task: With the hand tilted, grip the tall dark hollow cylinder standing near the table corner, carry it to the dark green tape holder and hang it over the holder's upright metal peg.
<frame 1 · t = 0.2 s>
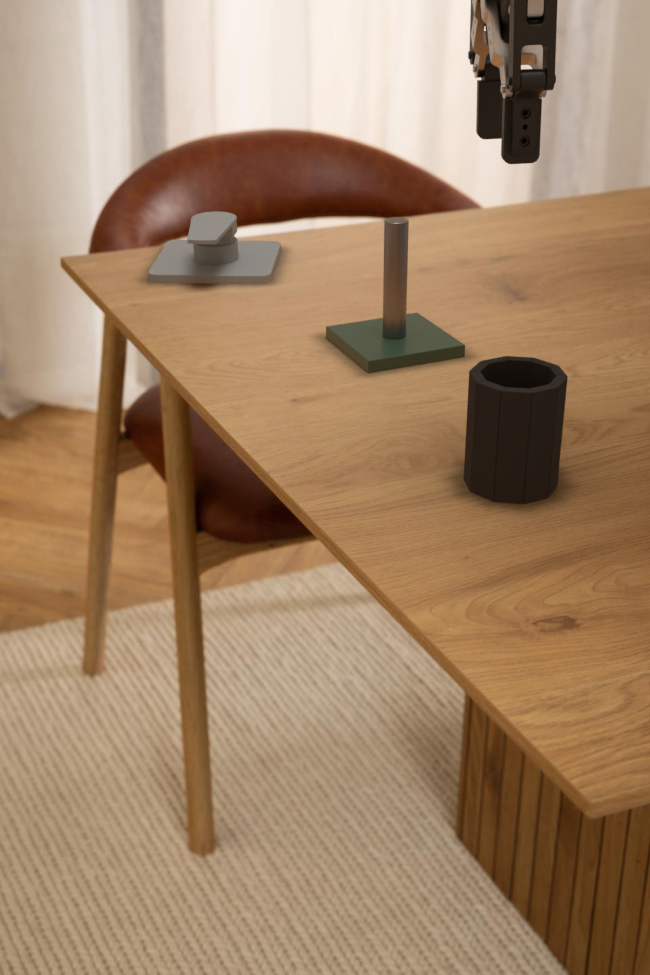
hand: (505, 149, 75), 21 cm above the table, tool pointing down, fingers open, 8 cm apart
holder: (393, 348, 102), on the table
shower valve: (215, 271, 123), on the table
dark hollow cylinder: (510, 483, 80), on the table
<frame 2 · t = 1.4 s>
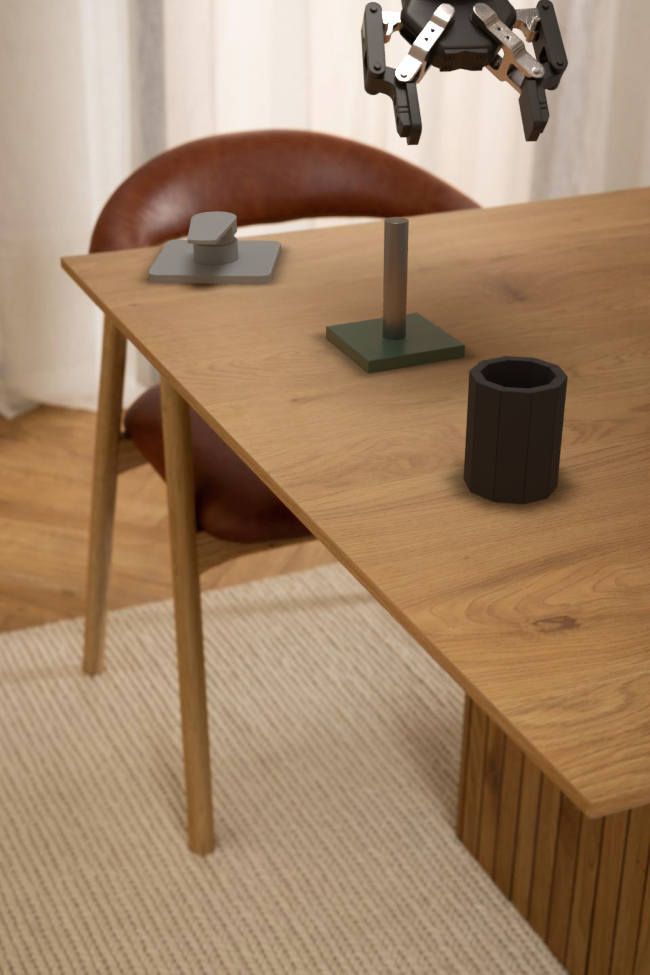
hand: (475, 137, 82), 20 cm above the table, tool tilted 45°, fingers open, 8 cm apart
nothing on the table moved.
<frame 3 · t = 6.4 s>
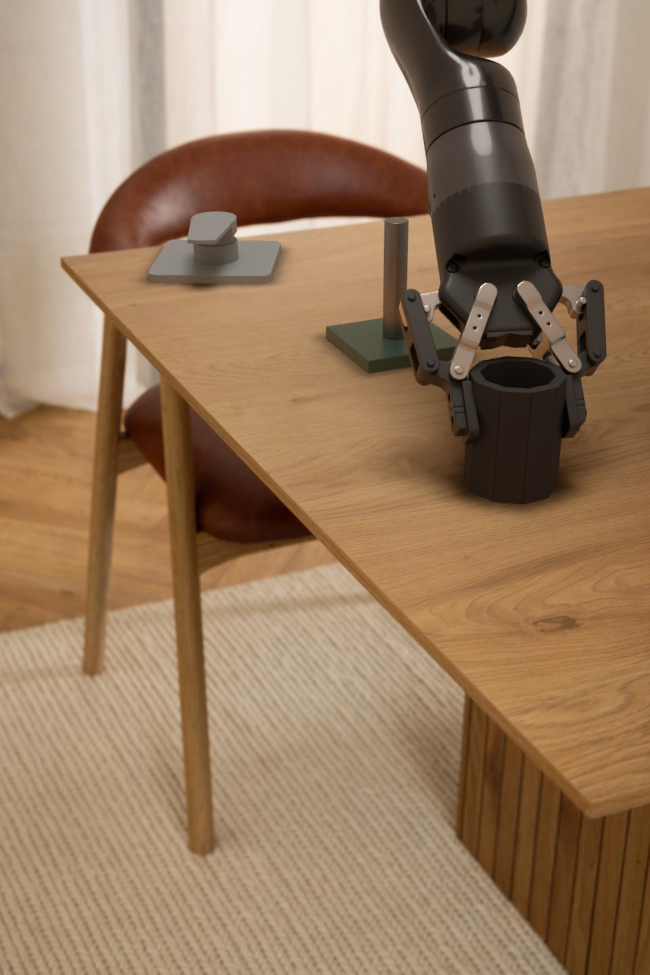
hand: (521, 436, 76), 4 cm above the table, tool tilted 45°, fingers closed on dark hollow cylinder, 6 cm apart
dark hollow cylinder: (509, 483, 80), on the table, touching gripper
everything else where it was.
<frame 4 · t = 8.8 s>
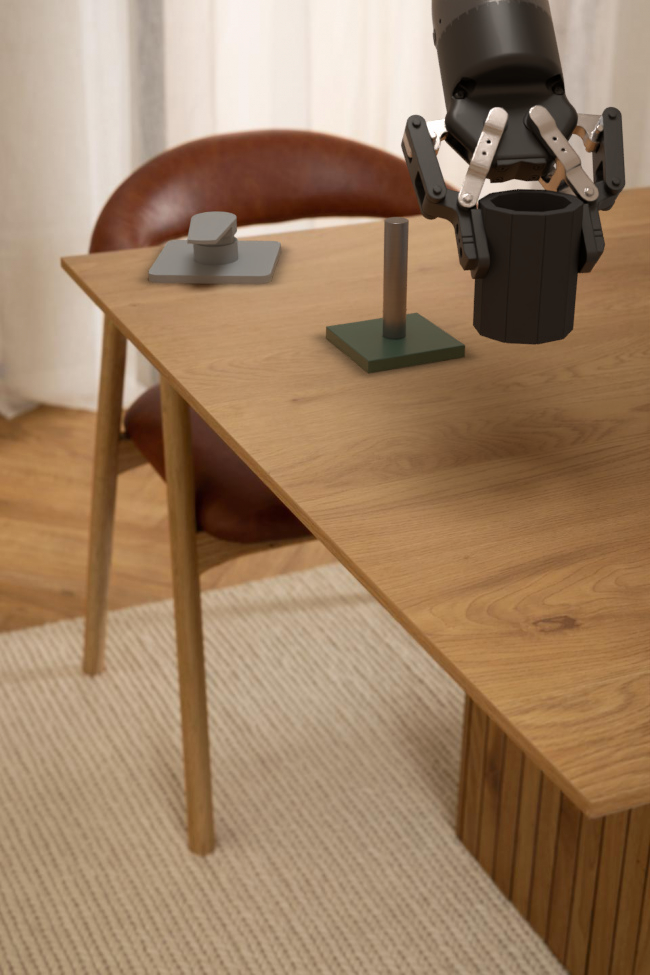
hand: (535, 269, 71), 15 cm above the table, tool tilted 45°, fingers closed on dark hollow cylinder, 6 cm apart
dark hollow cylinder: (522, 327, 75), point 11 cm above the table, touching gripper
everything else where it was.
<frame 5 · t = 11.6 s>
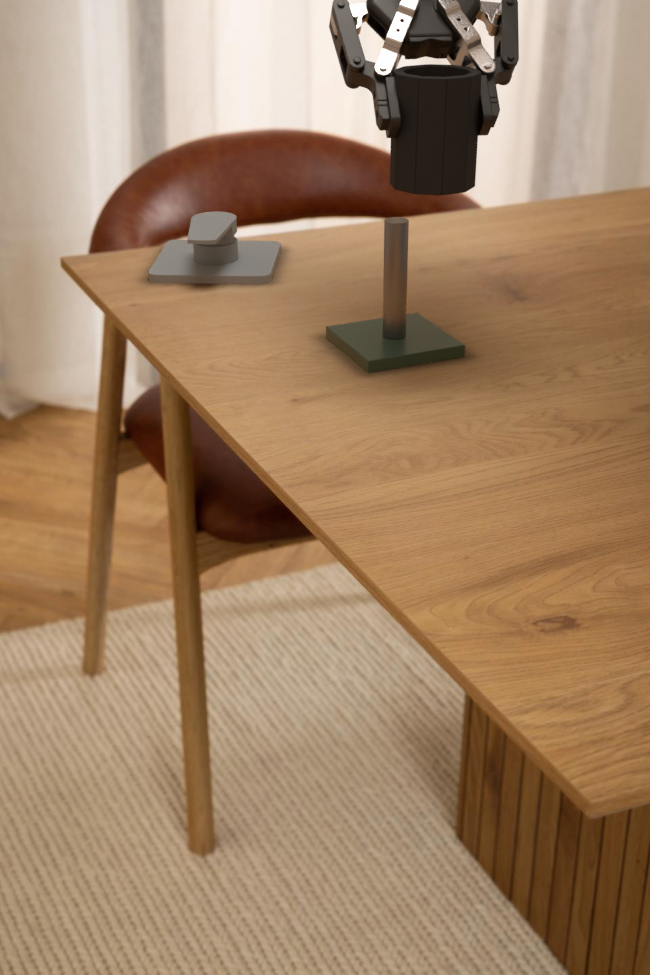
hand: (440, 129, 83), 20 cm above the table, tool tilted 45°, fingers closed on dark hollow cylinder, 6 cm apart
dark hollow cylinder: (432, 185, 87), point 16 cm above the table, touching gripper
everything else where it was.
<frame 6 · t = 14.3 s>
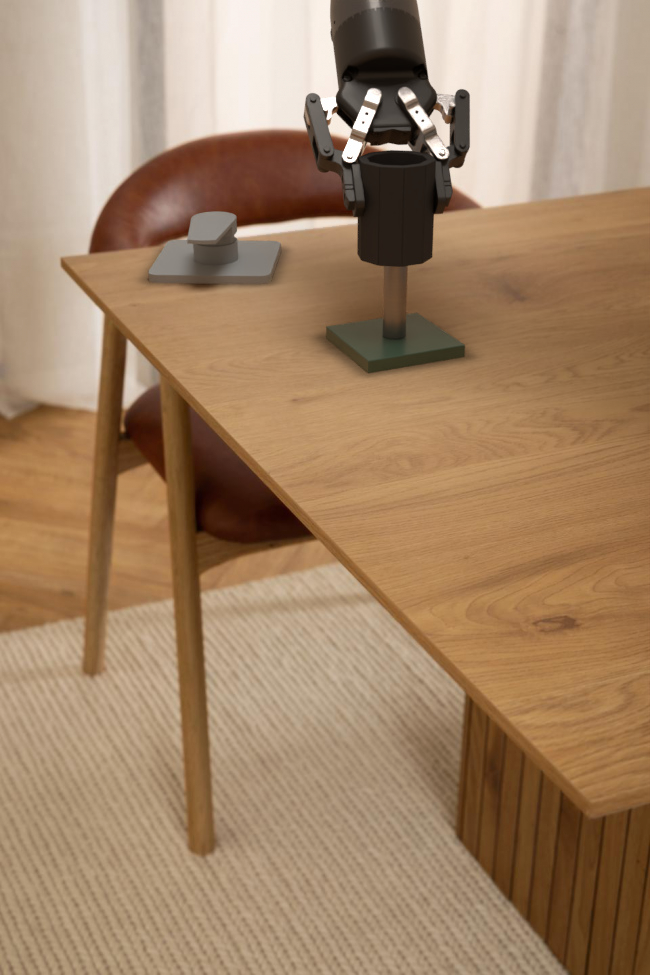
hand: (400, 209, 95), 12 cm above the table, tool tilted 45°, fingers closed on dark hollow cylinder, 6 cm apart
dark hollow cylinder: (394, 255, 98), point 8 cm above the table, touching gripper
everything else where it was.
when the fingers open (6 cm above the table, at t = 16.8 s): dark hollow cylinder stays where it is, resting on holder.
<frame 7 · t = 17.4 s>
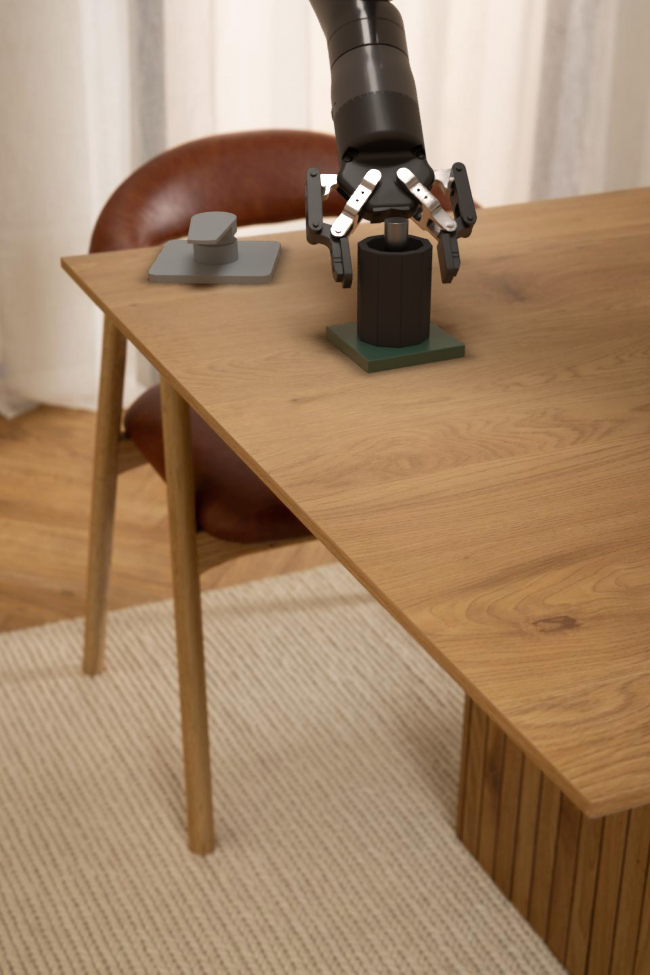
hand: (398, 282, 98), 6 cm above the table, tool tilted 45°, fingers open, 8 cm apart
dark hollow cylinder: (393, 334, 102), point 1 cm above the table, touching holder
everything else where it was.
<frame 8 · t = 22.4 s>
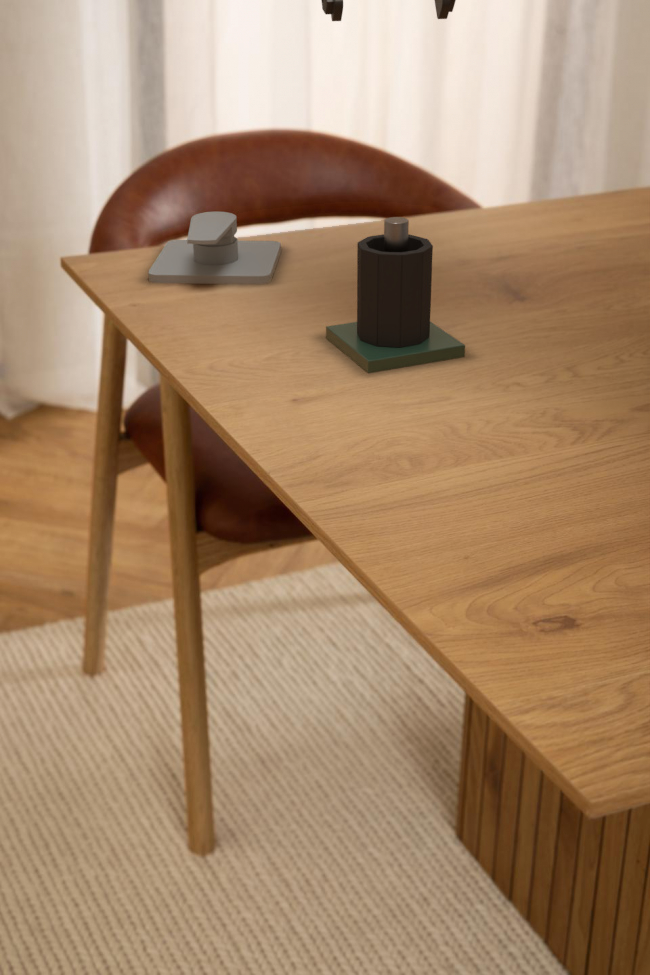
hand: (391, 13, 93), 27 cm above the table, tool tilted 45°, fingers open, 8 cm apart
nothing on the table moved.
at the end: dark hollow cylinder 0.1 cm off-centre on the holder, point 1.2 cm above the holder's base; dark hollow cylinder tilted 0°; the gripper is holding nothing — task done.
